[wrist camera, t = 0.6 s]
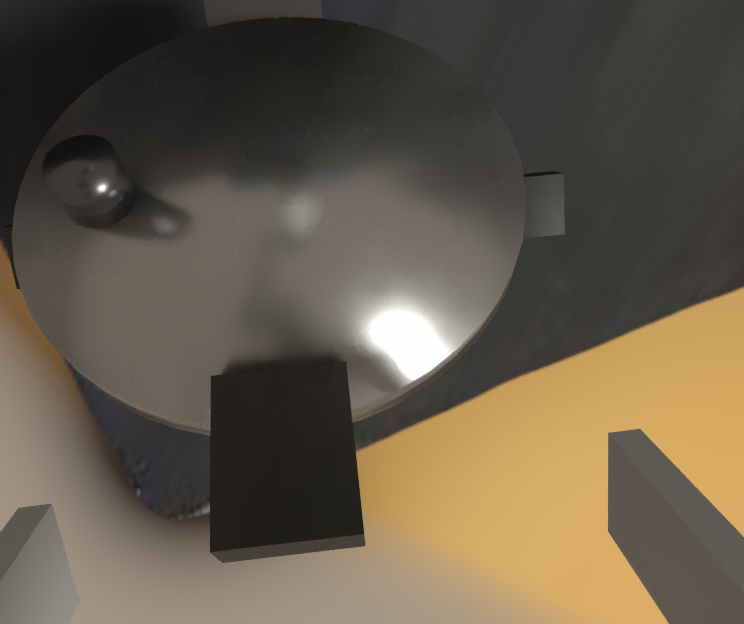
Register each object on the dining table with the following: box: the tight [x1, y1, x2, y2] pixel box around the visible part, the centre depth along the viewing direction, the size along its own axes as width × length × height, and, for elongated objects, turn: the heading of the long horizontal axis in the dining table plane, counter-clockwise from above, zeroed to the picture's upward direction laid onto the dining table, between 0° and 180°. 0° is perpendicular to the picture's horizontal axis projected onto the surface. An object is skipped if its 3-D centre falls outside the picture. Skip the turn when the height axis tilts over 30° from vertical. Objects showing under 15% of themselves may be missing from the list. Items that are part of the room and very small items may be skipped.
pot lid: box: [12, 17, 526, 563], centre depth 23 cm, size 22×18×3 cm
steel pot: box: [2, 0, 564, 289], centre depth 38 cm, size 19×27×12 cm
